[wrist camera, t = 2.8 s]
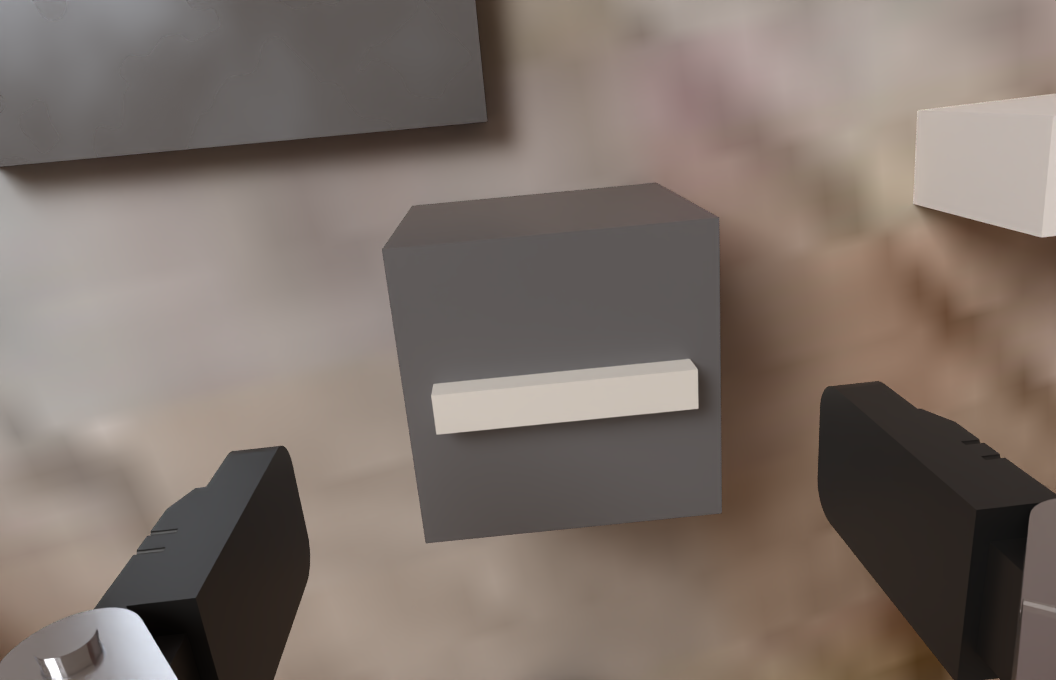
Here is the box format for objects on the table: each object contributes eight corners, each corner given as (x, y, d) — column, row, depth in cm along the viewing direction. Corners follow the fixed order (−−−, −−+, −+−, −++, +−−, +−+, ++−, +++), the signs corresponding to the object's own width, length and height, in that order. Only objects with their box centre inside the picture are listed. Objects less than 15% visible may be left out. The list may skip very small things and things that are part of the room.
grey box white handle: (656, 182, 19) (729, 222, 13) (664, 407, 21) (730, 528, 15) (412, 205, 19) (377, 256, 13) (442, 429, 21) (423, 560, 15)
